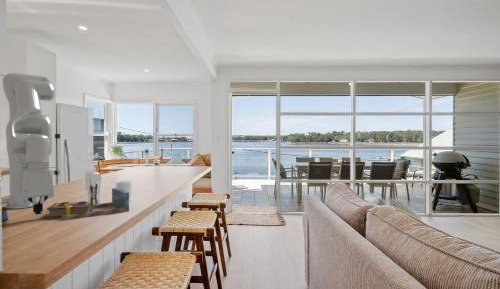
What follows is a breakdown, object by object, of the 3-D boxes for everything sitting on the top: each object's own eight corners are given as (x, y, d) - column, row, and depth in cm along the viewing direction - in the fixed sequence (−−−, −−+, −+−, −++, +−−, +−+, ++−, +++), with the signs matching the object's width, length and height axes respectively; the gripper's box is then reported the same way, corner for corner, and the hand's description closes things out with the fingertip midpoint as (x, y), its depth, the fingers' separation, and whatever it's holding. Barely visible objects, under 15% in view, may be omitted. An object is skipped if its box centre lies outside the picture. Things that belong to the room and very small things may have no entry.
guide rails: (62, 220, 128) (62, 199, 128) (53, 212, 140) (53, 193, 140) (128, 210, 145) (128, 192, 145) (115, 205, 157) (115, 188, 157)
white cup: (135, 200, 169) (135, 180, 169) (128, 203, 162) (128, 182, 161) (120, 199, 170) (120, 180, 170) (112, 202, 162) (112, 182, 162)
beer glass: (104, 203, 160) (104, 172, 159) (92, 206, 154) (92, 174, 153) (94, 202, 163) (94, 171, 162) (81, 205, 156) (81, 173, 156)
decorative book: (55, 213, 142) (55, 201, 141) (96, 211, 146) (96, 199, 146) (47, 219, 131) (46, 207, 131) (92, 217, 135) (92, 205, 135)
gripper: (15, 168, 122) (15, 218, 122) (61, 166, 131) (61, 212, 132) (12, 167, 127) (13, 214, 128) (57, 165, 137) (57, 209, 138)
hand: (37, 213), depth 130 cm, fingers closed
